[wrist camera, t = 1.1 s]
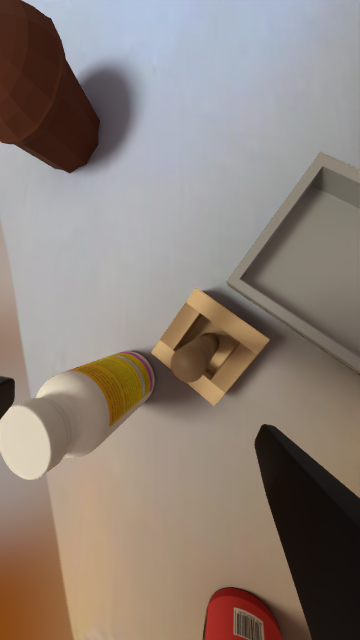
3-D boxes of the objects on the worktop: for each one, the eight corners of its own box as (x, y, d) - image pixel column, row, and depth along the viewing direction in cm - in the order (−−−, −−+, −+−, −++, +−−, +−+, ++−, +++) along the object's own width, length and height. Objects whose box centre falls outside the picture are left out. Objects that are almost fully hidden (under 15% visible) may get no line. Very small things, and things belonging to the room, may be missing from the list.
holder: (265, 335, 20) (269, 339, 17) (217, 393, 21) (214, 406, 18) (201, 290, 21) (195, 287, 18) (162, 347, 23) (150, 352, 20)
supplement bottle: (125, 339, 24) (9, 367, 12) (166, 372, 23) (83, 442, 11) (100, 380, 26) (-26, 442, 13) (138, 414, 24) (35, 519, 12)
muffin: (89, 193, 25) (-3, 121, 16) (30, 173, 28) (-79, 100, 18) (121, 93, 23) (39, -60, 14) (55, 82, 26) (-53, -52, 16)
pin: (223, 341, 20) (212, 362, 12) (211, 357, 21) (191, 389, 12) (206, 328, 21) (183, 339, 12) (194, 344, 21) (164, 366, 13)
